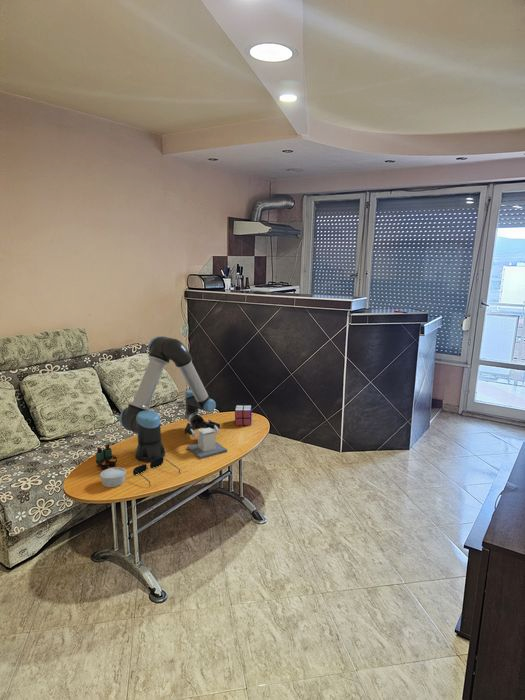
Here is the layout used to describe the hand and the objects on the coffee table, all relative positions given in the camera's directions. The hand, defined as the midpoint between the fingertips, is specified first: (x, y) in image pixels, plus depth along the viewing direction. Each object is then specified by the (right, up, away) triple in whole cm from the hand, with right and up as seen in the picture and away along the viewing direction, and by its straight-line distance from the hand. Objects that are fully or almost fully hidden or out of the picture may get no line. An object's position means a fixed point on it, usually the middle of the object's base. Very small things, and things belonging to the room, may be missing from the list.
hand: (206, 433), depth 236 cm
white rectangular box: (0, -8, -1) cm, 8 cm away
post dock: (0, -9, 0) cm, 9 cm away
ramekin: (-38, -16, -35) cm, 54 cm away
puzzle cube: (+18, -1, +40) cm, 44 cm away
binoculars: (-47, -13, -20) cm, 52 cm away
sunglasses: (-20, -15, -28) cm, 37 cm away
